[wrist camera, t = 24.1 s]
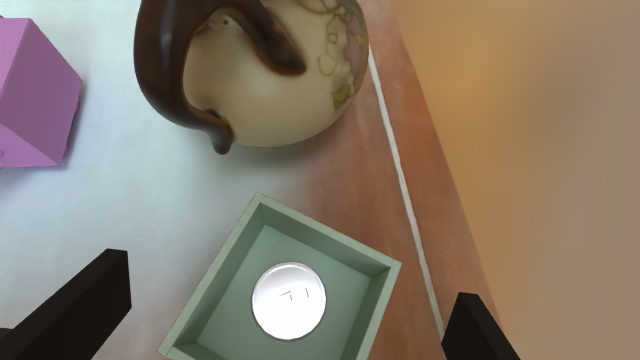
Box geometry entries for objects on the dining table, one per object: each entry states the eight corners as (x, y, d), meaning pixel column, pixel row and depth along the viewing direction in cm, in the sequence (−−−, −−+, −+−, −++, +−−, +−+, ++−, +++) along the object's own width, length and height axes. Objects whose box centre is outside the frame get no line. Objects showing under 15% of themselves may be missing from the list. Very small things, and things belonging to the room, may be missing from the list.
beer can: (306, 274, 34) (315, 248, 23) (322, 327, 32) (340, 326, 21) (256, 290, 33) (240, 271, 22) (269, 346, 31) (259, 355, 20)
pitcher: (314, 28, 50) (335, -218, 28) (383, 155, 42) (496, -49, 19) (164, 62, 45) (39, -208, 22) (210, 214, 37) (85, 31, 14)
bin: (380, 275, 36) (402, 262, 29) (322, 424, 30) (332, 453, 23) (262, 216, 37) (256, 191, 30) (185, 346, 31) (156, 351, 24)
